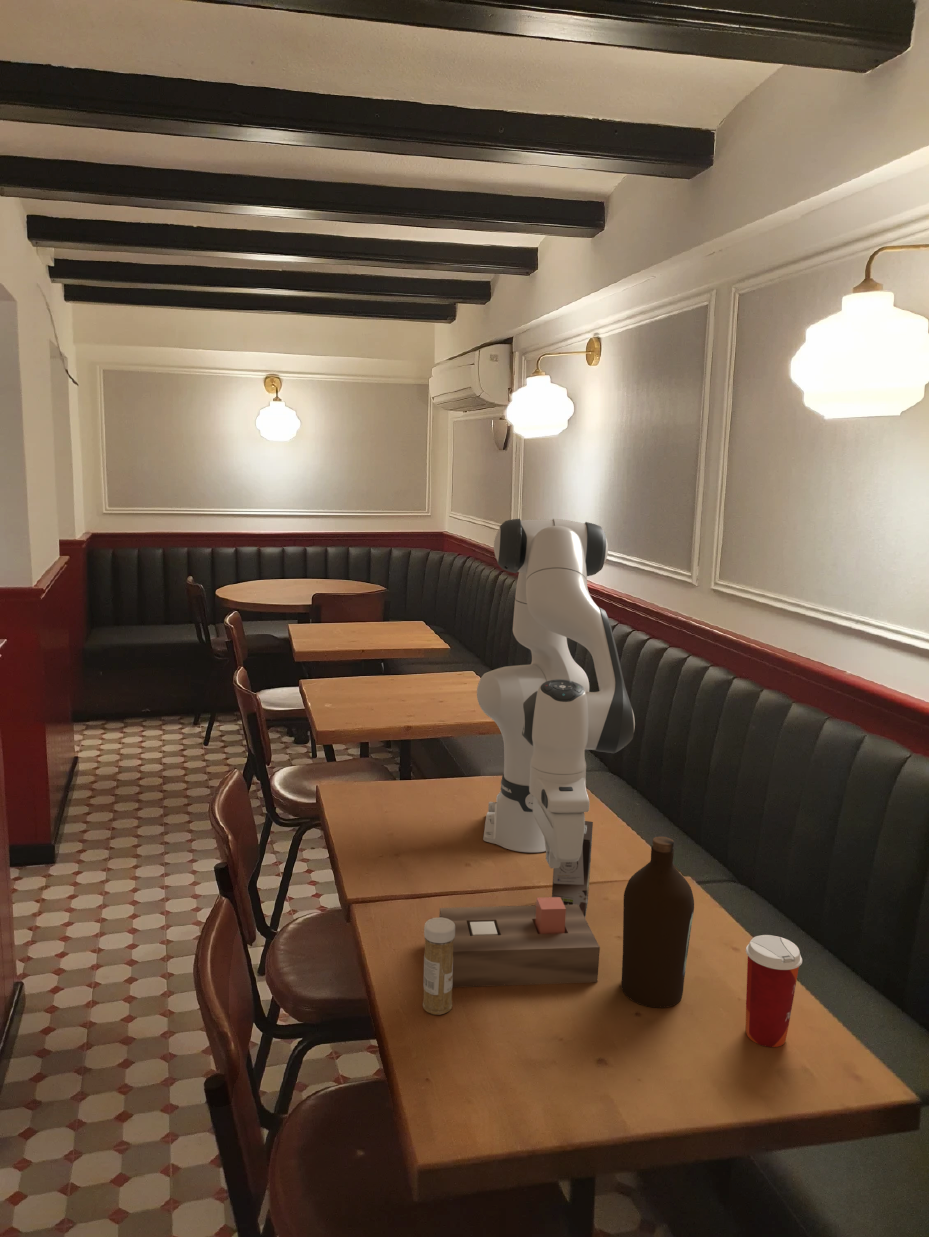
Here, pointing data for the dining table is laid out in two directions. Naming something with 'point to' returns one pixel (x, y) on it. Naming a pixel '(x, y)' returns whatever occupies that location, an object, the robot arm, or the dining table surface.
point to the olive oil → (656, 930)
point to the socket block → (521, 948)
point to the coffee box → (575, 875)
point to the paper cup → (770, 988)
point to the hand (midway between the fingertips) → (552, 864)
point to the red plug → (550, 915)
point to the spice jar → (438, 965)
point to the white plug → (482, 928)
